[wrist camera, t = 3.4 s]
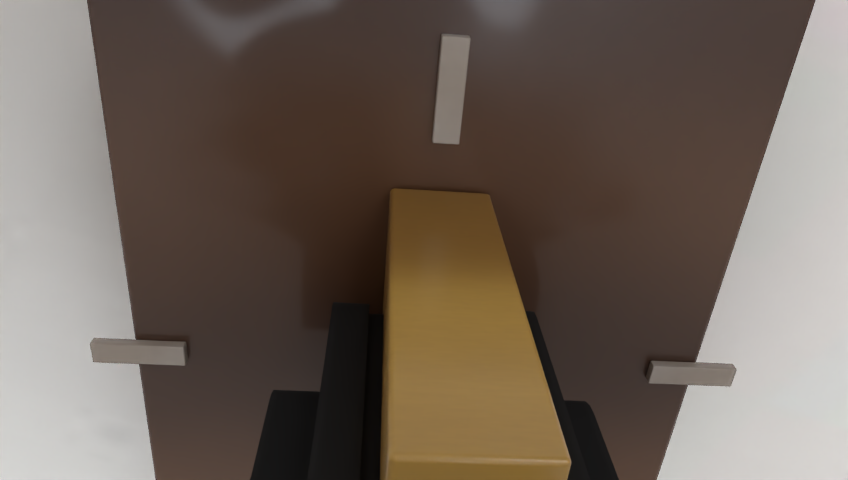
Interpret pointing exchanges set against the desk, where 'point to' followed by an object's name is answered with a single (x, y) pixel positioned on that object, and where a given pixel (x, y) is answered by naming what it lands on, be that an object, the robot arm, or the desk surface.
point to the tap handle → (459, 351)
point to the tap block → (428, 187)
